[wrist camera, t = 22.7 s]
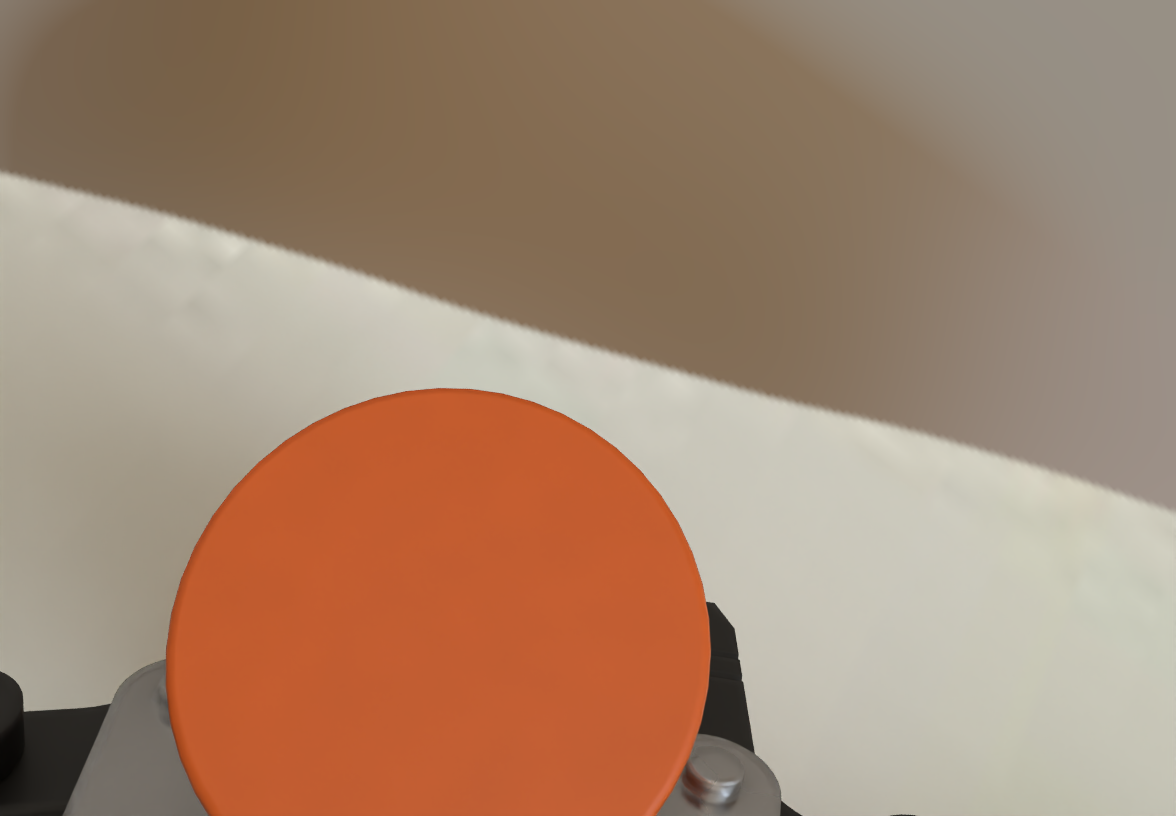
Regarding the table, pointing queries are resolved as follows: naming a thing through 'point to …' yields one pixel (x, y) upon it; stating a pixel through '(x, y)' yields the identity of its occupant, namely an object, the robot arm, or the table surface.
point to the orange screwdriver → (439, 622)
